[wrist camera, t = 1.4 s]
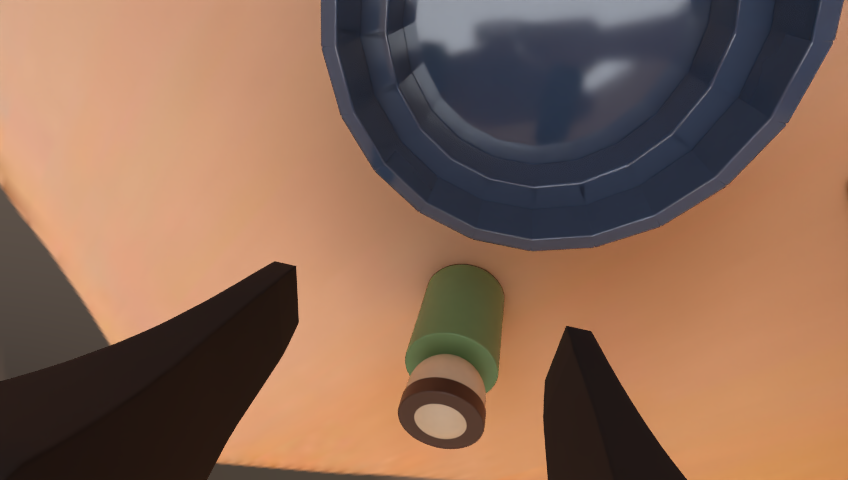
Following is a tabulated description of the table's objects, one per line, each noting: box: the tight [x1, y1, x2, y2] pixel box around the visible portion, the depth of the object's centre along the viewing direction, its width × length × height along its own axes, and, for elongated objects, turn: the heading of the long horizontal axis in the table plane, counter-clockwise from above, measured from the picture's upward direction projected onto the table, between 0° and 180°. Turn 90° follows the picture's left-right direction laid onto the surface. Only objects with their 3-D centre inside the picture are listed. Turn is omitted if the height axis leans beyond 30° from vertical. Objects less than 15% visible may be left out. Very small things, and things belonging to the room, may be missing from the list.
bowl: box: [321, 0, 844, 251], centre depth 14 cm, size 13×13×5 cm
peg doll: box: [398, 264, 504, 449], centre depth 20 cm, size 4×4×8 cm
